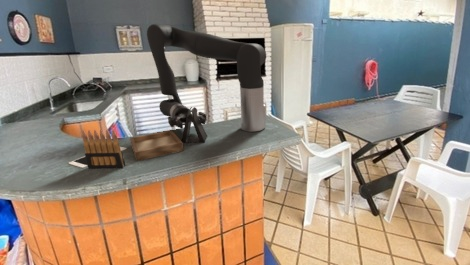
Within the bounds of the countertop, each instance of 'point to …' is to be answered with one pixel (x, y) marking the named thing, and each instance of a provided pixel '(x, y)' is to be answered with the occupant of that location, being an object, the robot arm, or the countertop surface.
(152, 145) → the shallow tray
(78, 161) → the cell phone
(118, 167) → the ammunition clip
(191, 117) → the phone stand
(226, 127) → the countertop surface
